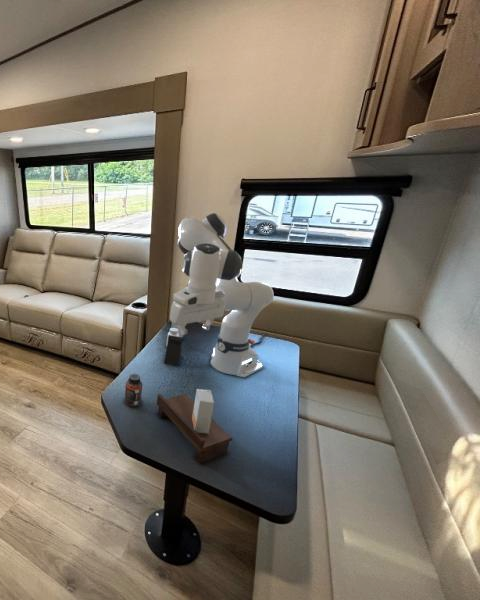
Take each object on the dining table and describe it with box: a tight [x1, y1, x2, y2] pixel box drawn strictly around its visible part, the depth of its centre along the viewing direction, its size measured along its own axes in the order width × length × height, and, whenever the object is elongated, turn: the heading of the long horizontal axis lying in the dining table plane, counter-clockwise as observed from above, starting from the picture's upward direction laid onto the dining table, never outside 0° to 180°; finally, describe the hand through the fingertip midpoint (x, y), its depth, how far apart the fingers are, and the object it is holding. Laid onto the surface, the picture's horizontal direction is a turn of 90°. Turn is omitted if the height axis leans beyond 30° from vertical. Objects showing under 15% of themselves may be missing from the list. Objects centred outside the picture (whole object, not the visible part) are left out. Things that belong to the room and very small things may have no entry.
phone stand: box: [163, 335, 184, 367], centre depth 143 cm, size 9×6×12 cm, turn 156°
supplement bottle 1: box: [124, 373, 143, 408], centre depth 116 cm, size 6×6×11 cm
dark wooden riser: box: [156, 393, 233, 464], centre depth 103 cm, size 12×22×9 cm, turn 21°
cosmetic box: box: [192, 388, 215, 434], centre depth 97 cm, size 6×4×12 cm
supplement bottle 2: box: [165, 327, 179, 347], centre depth 155 cm, size 5×5×10 cm
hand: (194, 331), depth 109 cm, fingers open, 8 cm apart
